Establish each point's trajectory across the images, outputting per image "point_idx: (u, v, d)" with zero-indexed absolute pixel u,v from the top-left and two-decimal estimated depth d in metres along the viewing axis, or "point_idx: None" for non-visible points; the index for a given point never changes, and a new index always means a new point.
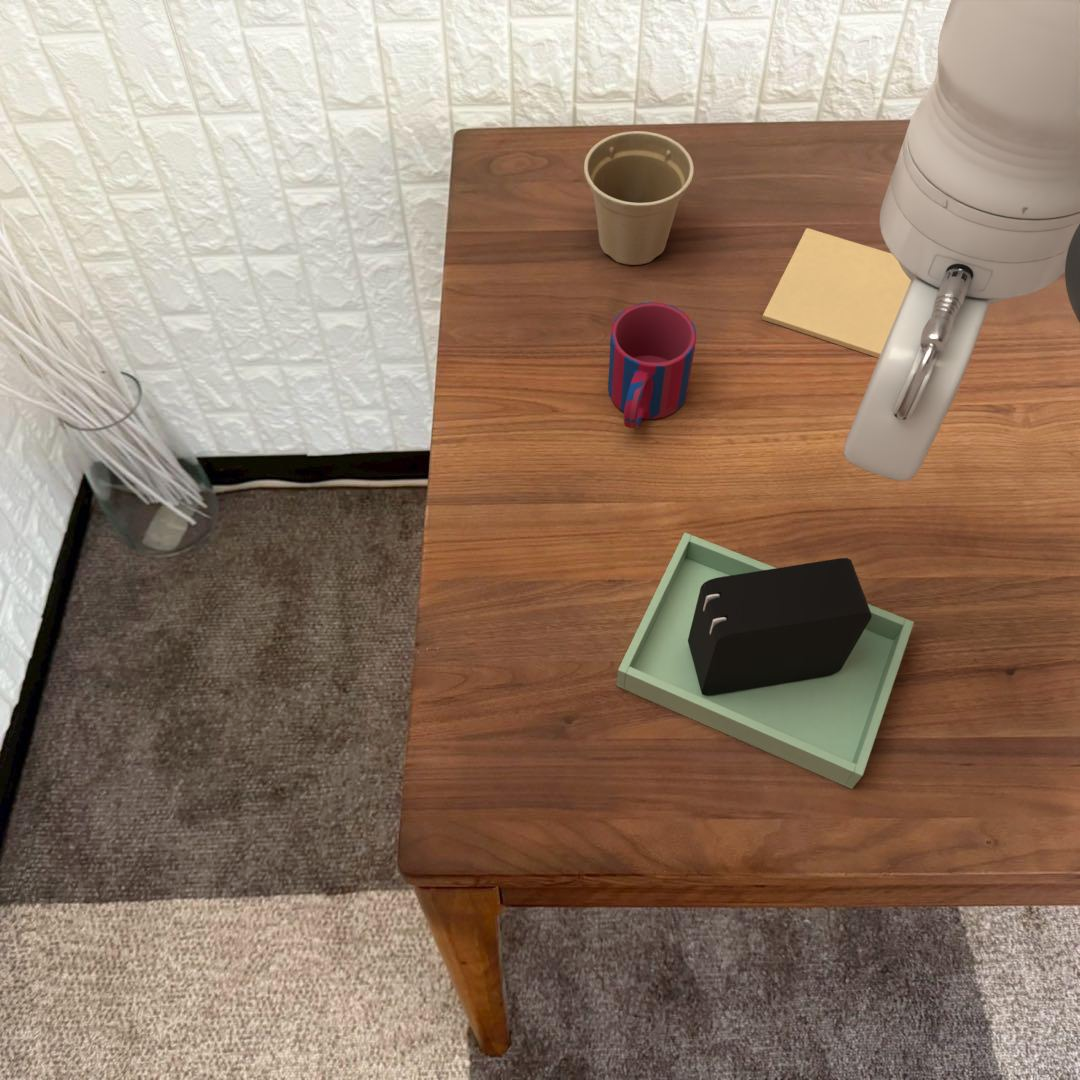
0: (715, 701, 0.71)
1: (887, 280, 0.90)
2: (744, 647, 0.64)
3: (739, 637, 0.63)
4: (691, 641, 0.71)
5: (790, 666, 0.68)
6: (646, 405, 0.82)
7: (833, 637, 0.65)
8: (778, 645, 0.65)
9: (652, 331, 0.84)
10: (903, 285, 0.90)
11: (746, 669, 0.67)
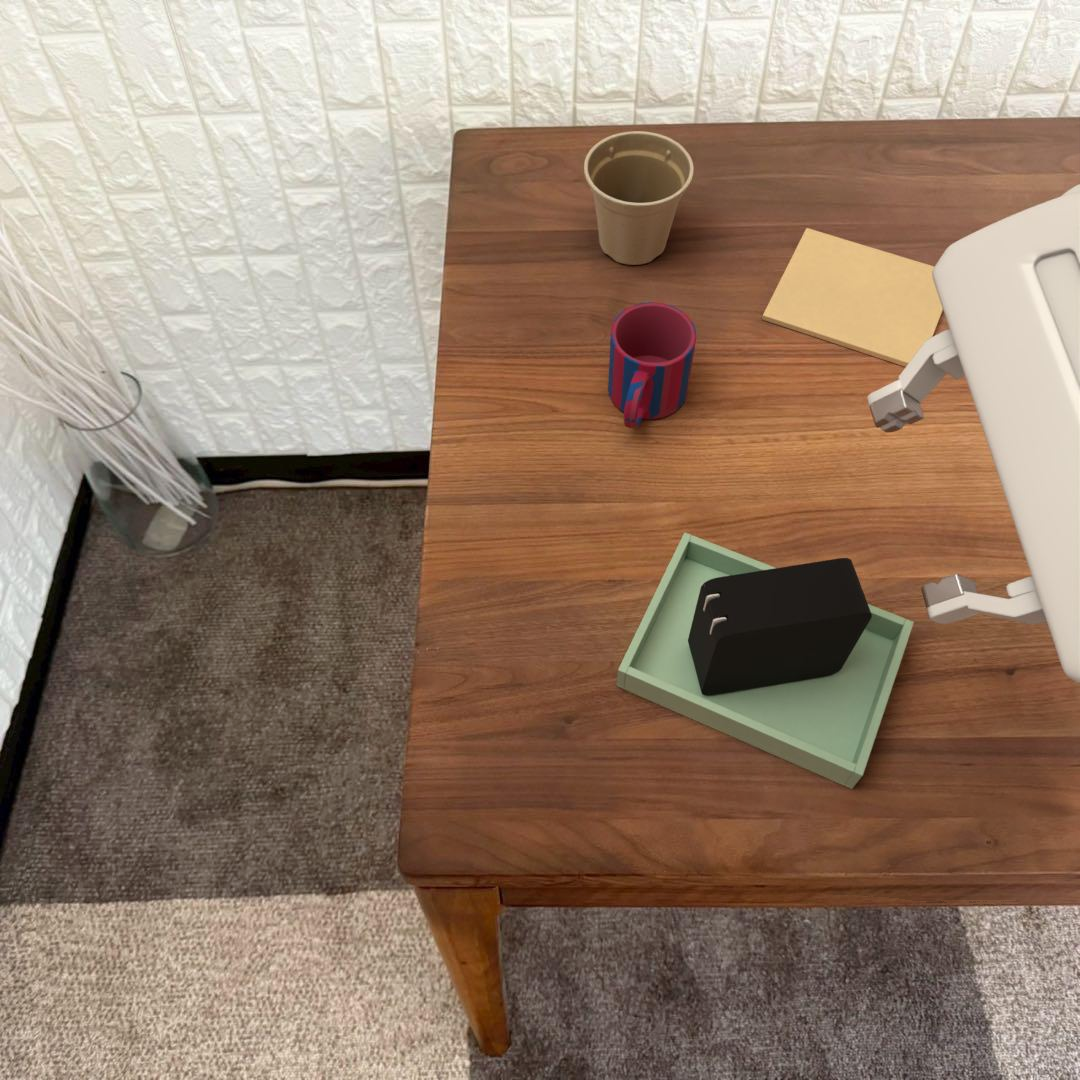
0: (715, 701, 0.71)
1: (887, 280, 0.90)
2: (744, 647, 0.64)
3: (739, 637, 0.63)
4: (691, 641, 0.71)
5: (790, 666, 0.68)
6: (646, 405, 0.82)
7: (833, 637, 0.65)
8: (778, 645, 0.65)
9: (652, 331, 0.84)
10: (903, 285, 0.90)
11: (746, 669, 0.67)
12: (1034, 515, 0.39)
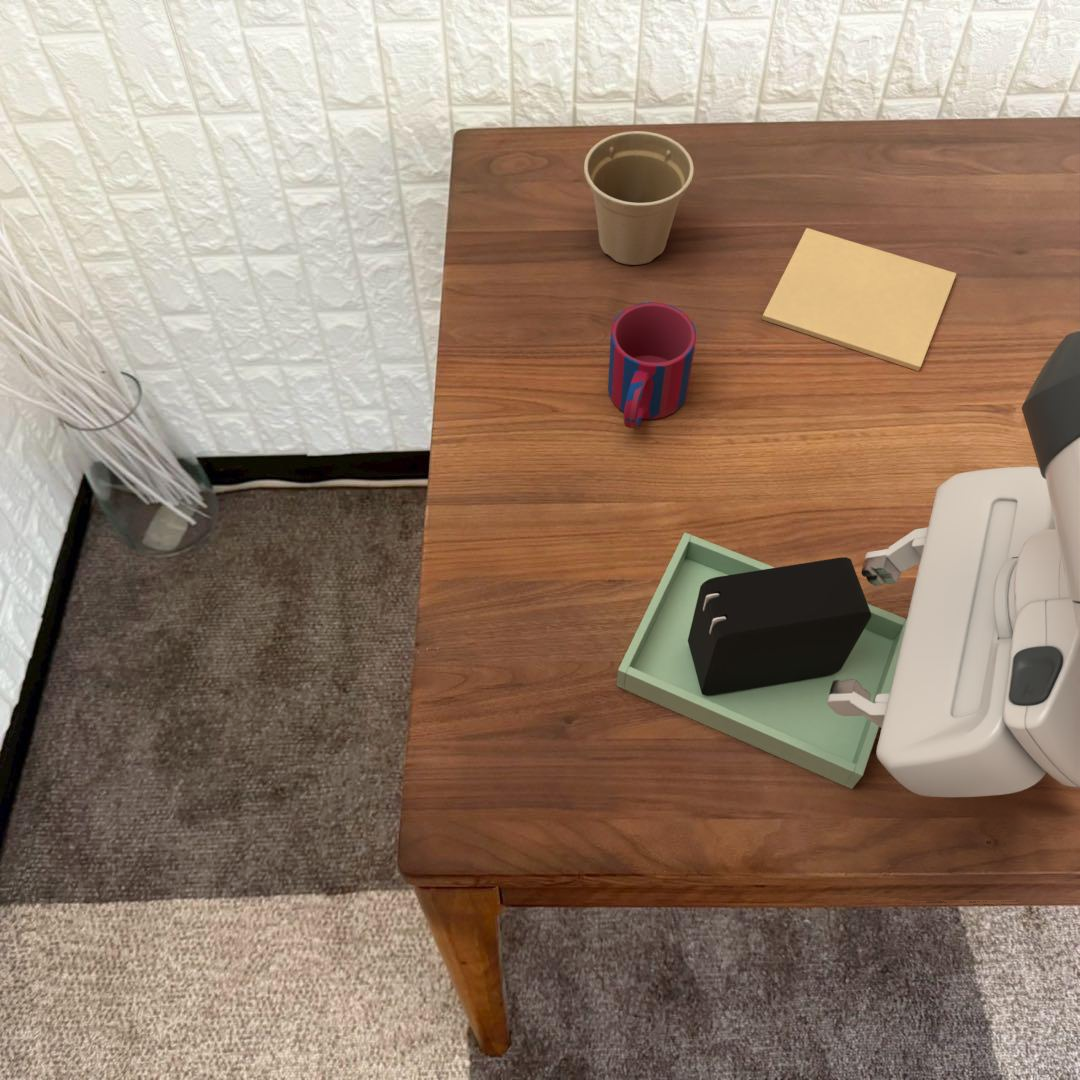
0: (715, 701, 0.71)
1: (887, 280, 0.90)
2: (744, 647, 0.64)
3: (739, 636, 0.63)
4: (691, 641, 0.71)
5: (790, 666, 0.68)
6: (646, 405, 0.82)
7: (833, 636, 0.65)
8: (777, 645, 0.65)
9: (652, 331, 0.84)
10: (903, 285, 0.90)
11: (746, 668, 0.67)
12: (909, 653, 0.56)
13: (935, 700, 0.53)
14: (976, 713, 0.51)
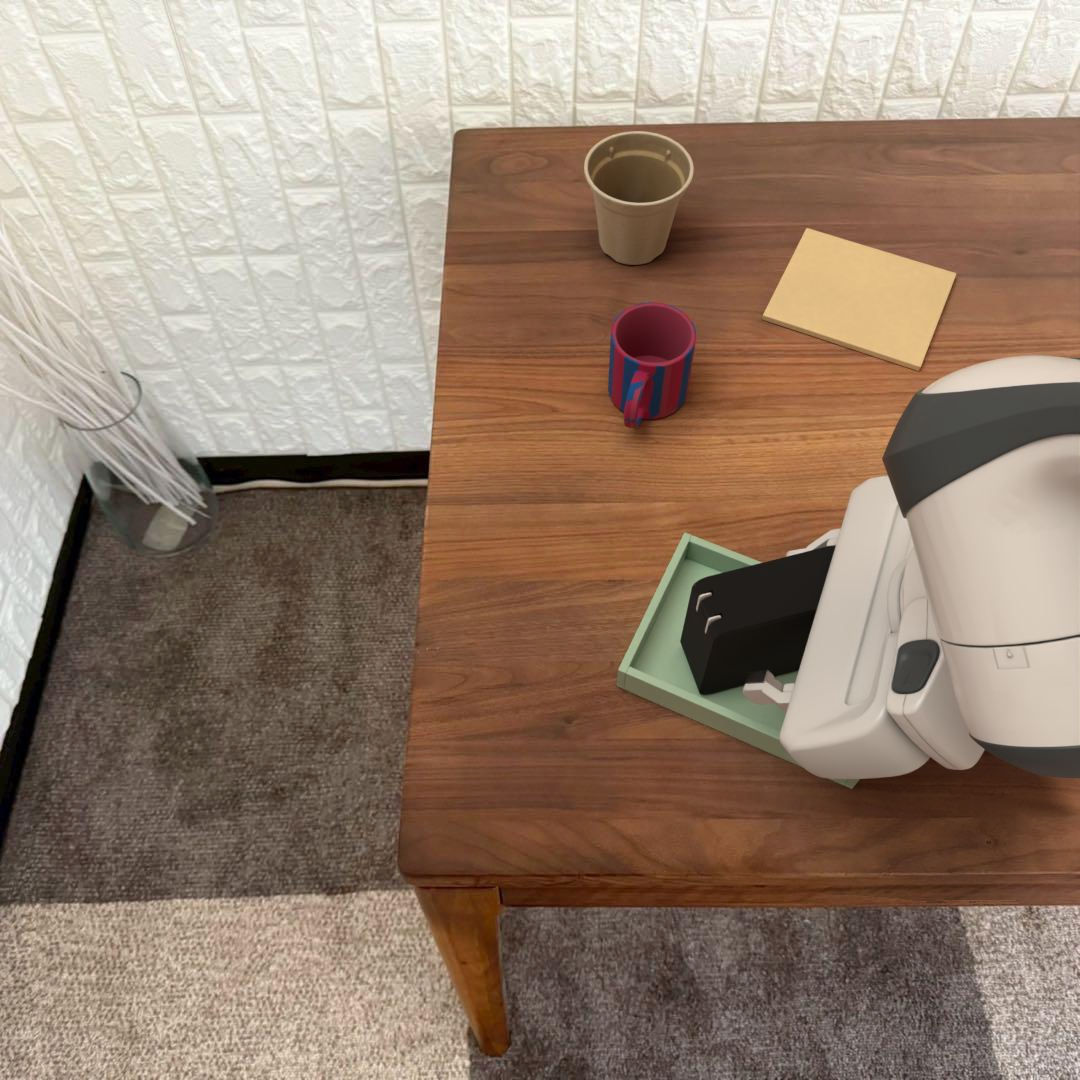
0: (715, 701, 0.71)
1: (887, 280, 0.90)
2: (740, 643, 0.64)
3: (736, 633, 0.63)
4: (684, 642, 0.71)
5: (785, 658, 0.69)
6: (646, 405, 0.82)
7: None
8: (773, 638, 0.65)
9: (652, 331, 0.84)
10: (903, 285, 0.90)
11: (743, 665, 0.68)
12: (814, 646, 0.61)
13: (832, 689, 0.58)
14: (866, 701, 0.55)
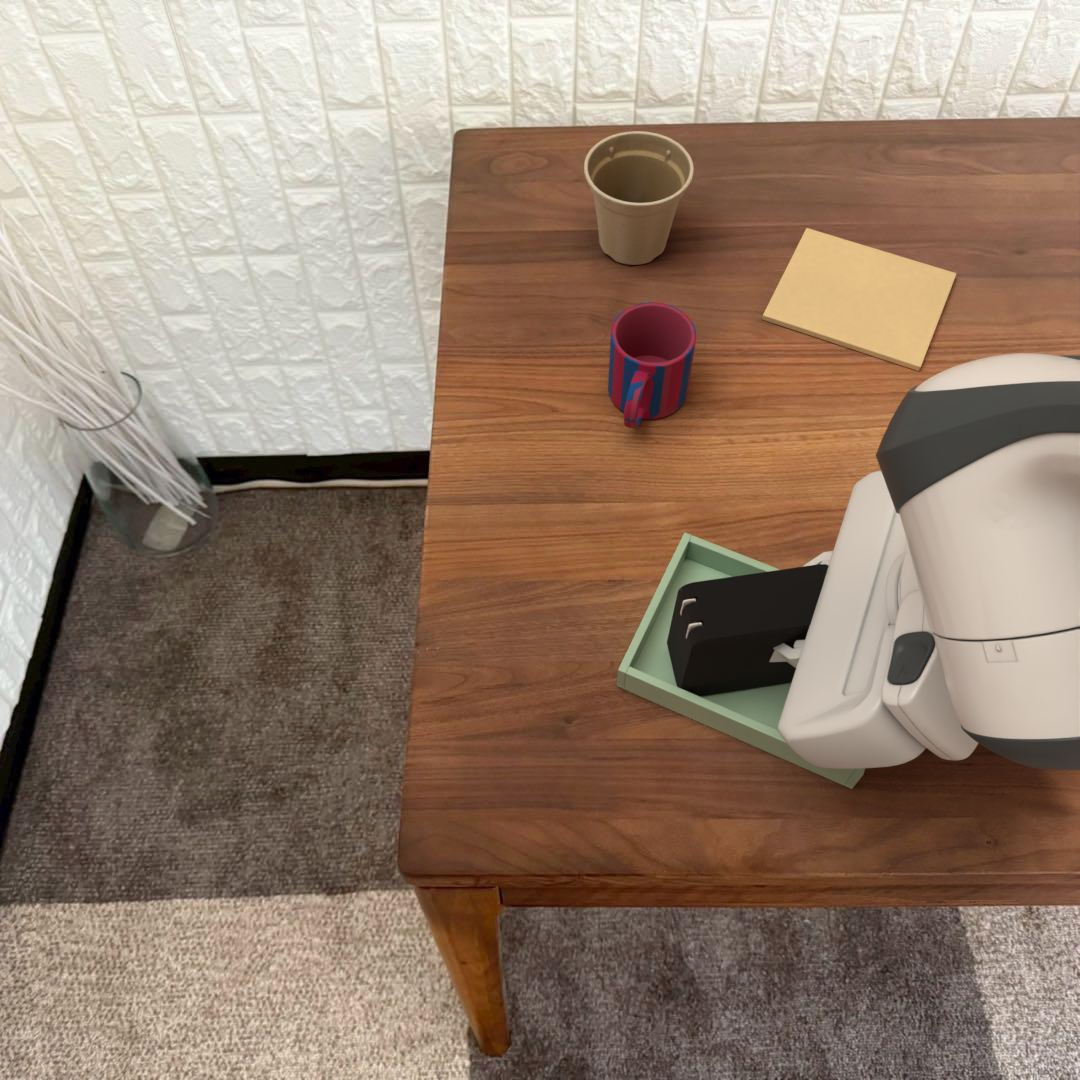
0: (715, 701, 0.71)
1: (887, 280, 0.90)
2: (720, 652, 0.64)
3: (714, 642, 0.62)
4: (670, 643, 0.71)
5: (768, 671, 0.68)
6: (646, 405, 0.82)
7: None
8: (754, 651, 0.65)
9: (652, 331, 0.84)
10: (903, 285, 0.90)
11: (723, 673, 0.67)
12: (814, 637, 0.61)
13: (830, 680, 0.58)
14: (863, 692, 0.56)
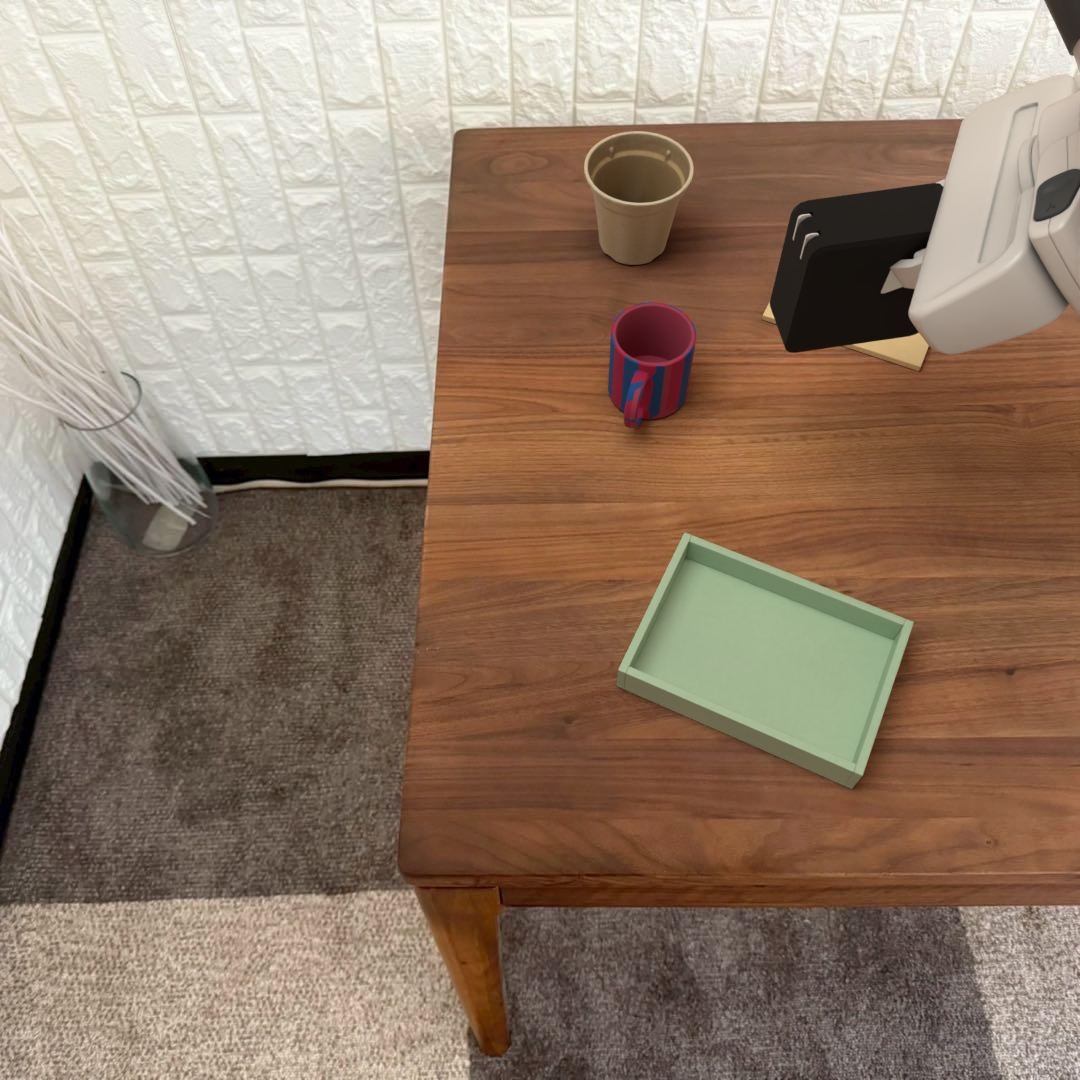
0: (715, 701, 0.71)
1: None
2: (835, 270, 0.64)
3: (832, 251, 0.62)
4: (774, 297, 0.70)
5: (877, 311, 0.68)
6: (646, 405, 0.82)
7: None
8: (868, 272, 0.64)
9: (652, 331, 0.84)
10: None
11: (834, 309, 0.67)
12: (938, 236, 0.61)
13: (963, 258, 0.58)
14: (1002, 252, 0.56)
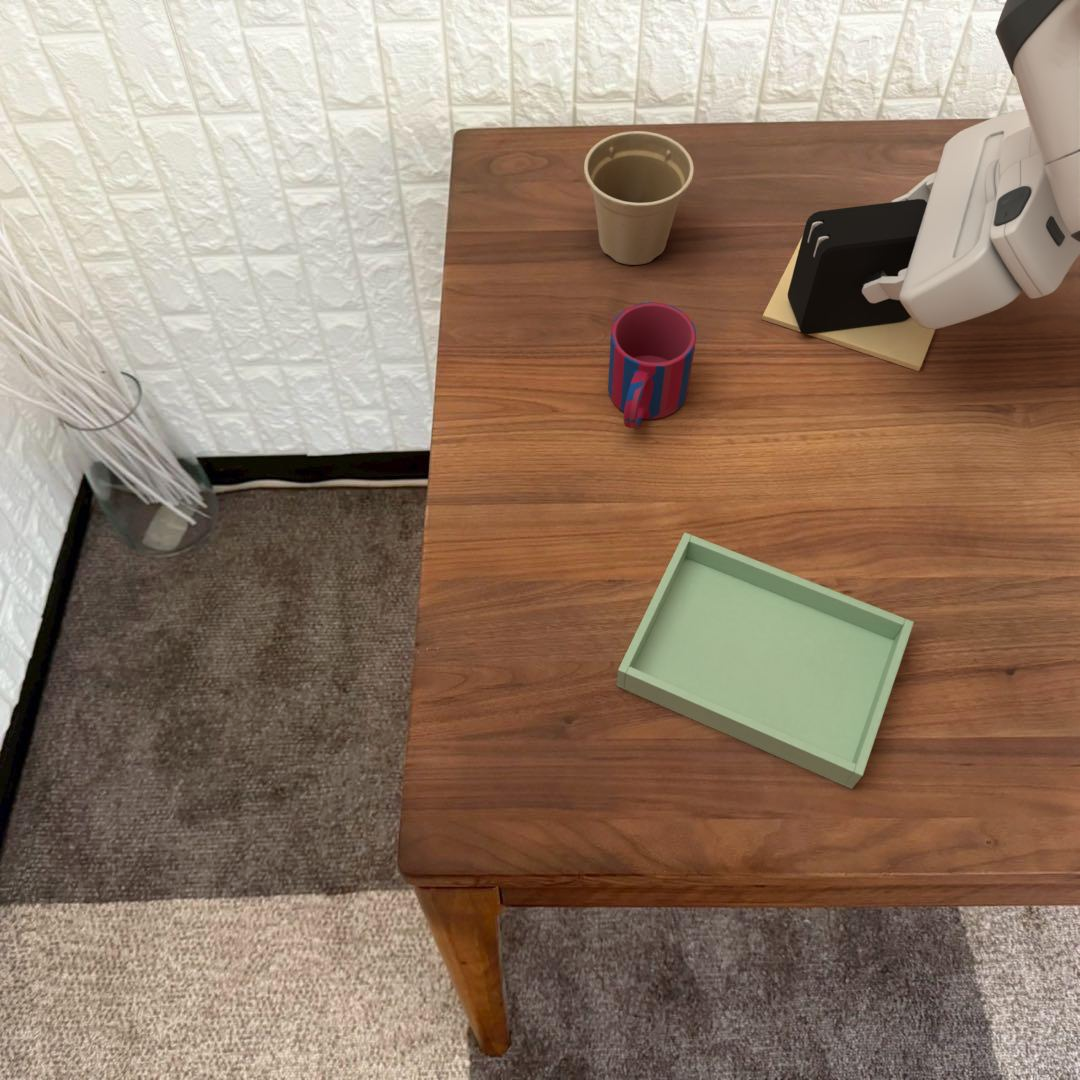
0: (715, 701, 0.71)
1: None
2: (841, 266, 0.81)
3: (839, 250, 0.79)
4: (791, 289, 0.87)
5: None
6: (646, 405, 0.82)
7: None
8: (867, 268, 0.81)
9: (652, 331, 0.84)
10: None
11: (840, 298, 0.84)
12: (923, 236, 0.77)
13: (942, 254, 0.74)
14: (971, 249, 0.72)
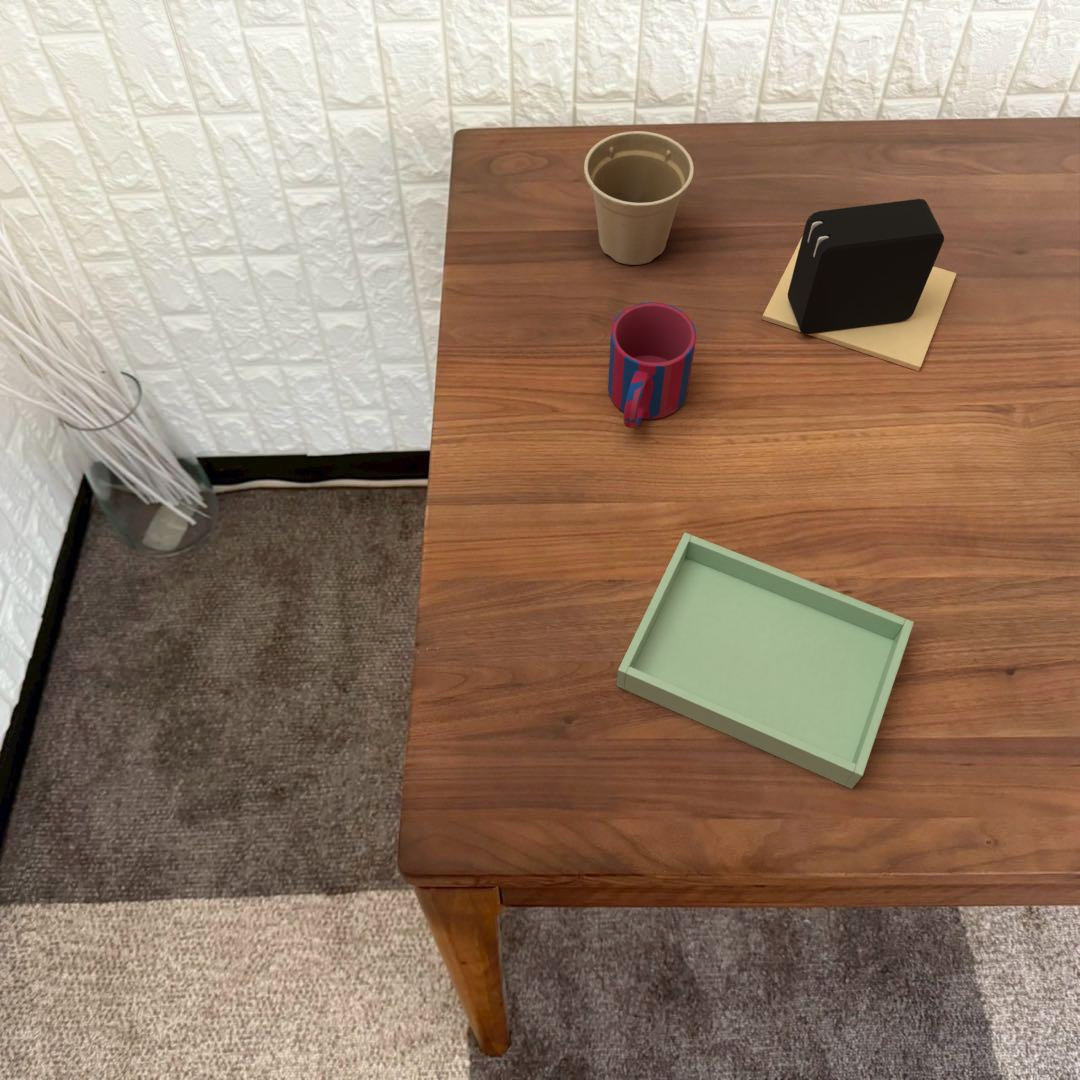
0: (715, 701, 0.71)
1: None
2: (841, 266, 0.81)
3: (839, 250, 0.79)
4: (791, 289, 0.87)
5: (874, 300, 0.85)
6: (646, 405, 0.82)
7: (911, 263, 0.81)
8: (867, 268, 0.81)
9: (652, 331, 0.84)
10: None
11: (839, 298, 0.84)
12: None
13: None
14: None
